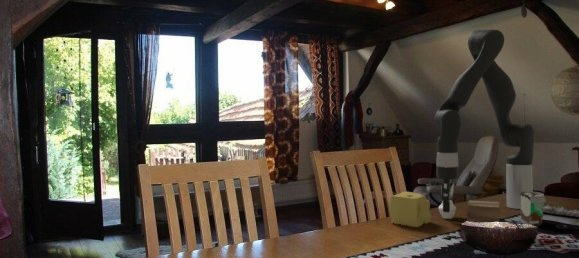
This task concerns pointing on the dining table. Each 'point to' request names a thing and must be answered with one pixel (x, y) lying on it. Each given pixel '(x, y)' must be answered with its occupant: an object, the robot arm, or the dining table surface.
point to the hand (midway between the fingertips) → (447, 209)
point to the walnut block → (482, 211)
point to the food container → (532, 207)
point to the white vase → (448, 214)
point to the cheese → (410, 209)
